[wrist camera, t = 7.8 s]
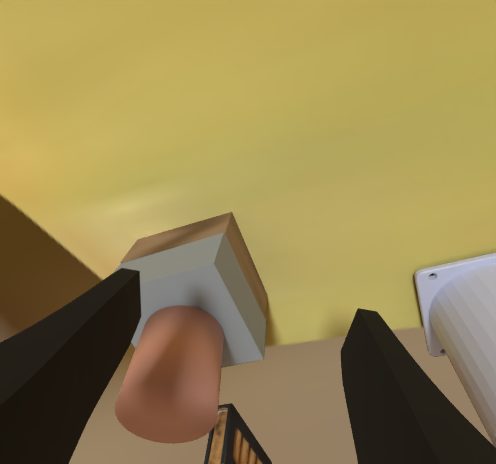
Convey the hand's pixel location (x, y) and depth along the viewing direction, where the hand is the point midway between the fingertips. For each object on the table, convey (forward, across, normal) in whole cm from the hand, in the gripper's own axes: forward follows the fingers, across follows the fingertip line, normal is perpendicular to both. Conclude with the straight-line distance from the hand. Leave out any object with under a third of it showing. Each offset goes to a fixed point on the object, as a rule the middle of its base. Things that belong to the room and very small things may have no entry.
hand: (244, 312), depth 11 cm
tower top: (+8, +3, +6) cm, 11 cm away
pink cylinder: (+4, +3, +7) cm, 9 cm away
